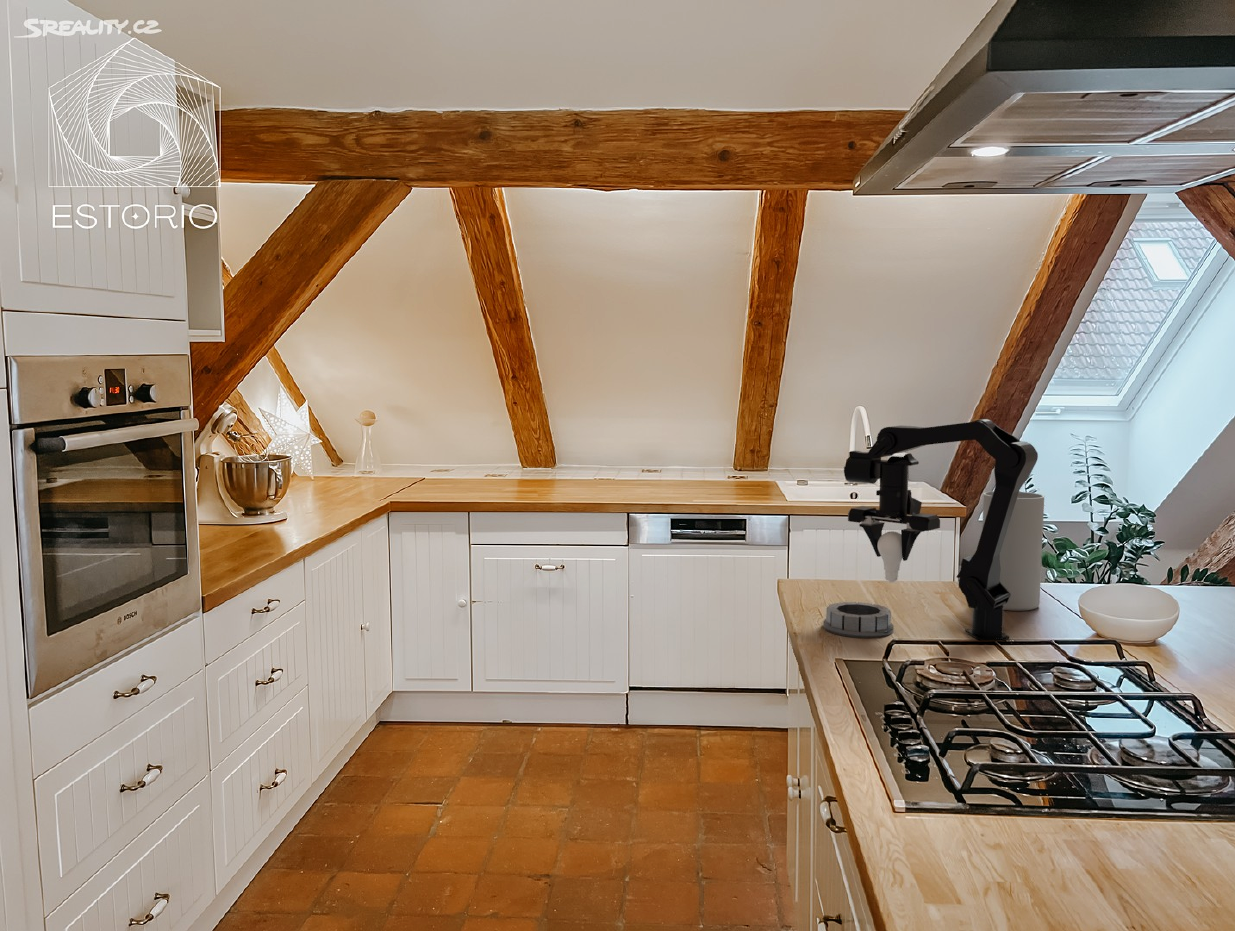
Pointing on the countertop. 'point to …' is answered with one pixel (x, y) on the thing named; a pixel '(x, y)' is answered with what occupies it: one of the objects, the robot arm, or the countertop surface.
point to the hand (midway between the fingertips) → (891, 558)
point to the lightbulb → (891, 554)
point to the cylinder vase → (1022, 551)
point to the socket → (858, 620)
